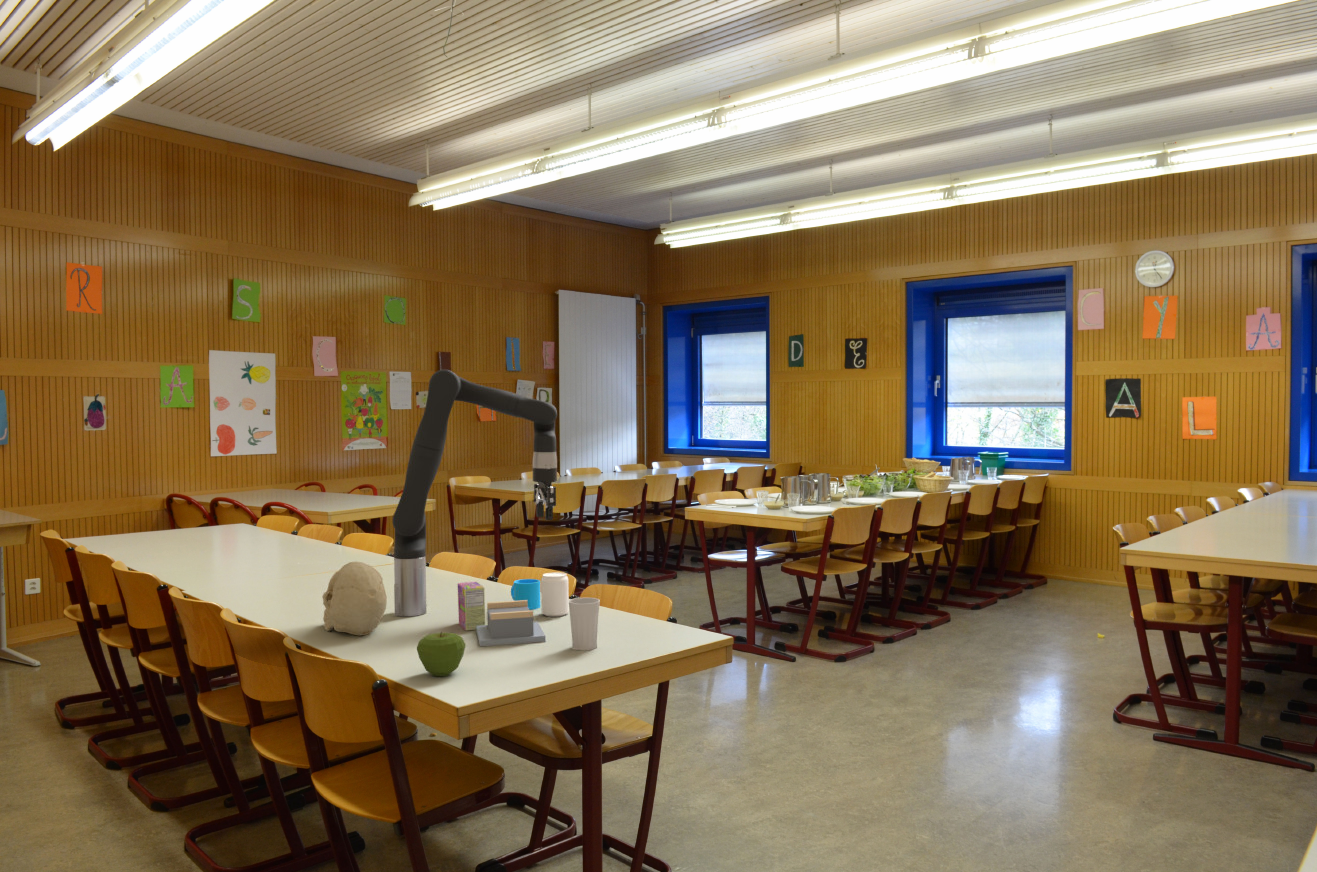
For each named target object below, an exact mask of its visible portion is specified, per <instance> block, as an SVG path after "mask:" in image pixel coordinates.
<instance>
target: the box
mask: <svg viewBox="0 0 1317 872" xmlns="http://www.w3.org/2000/svg"><path fill="white" fill-rule="evenodd" d="M485 600H486V599H485V587H484V586H483V585H482V584H480V583H479V582H477V581H468V582H458V583H457V603H458V604H457V606H458V607H457V608H458V609H457V610H458V624H459V625H460V626H461V627H462V628H463V629H464V630H465V631H466V632H467V631H476V626H480V625H486V606H485V604H486V603H485Z"/></svg>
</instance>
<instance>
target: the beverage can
mask: <svg viewBox="0 0 1317 872" xmlns="http://www.w3.org/2000/svg"><path fill="white" fill-rule="evenodd" d="M567 575H568V574H567V573H566V572H560V571H559V572H557V571H556V572H555V571H554V572H546V573H543V574H542V577H541V580H540V608H541V614H542V615H543V616H546V617H562V616H565V615H567V614H568V613H570V610H569V600H570V598H569V596H570V595H569V577H568V576H567Z"/></svg>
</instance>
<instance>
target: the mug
mask: <svg viewBox="0 0 1317 872" xmlns="http://www.w3.org/2000/svg"><path fill="white" fill-rule="evenodd" d="M510 596H511V599H512V601H520V600H527V601H528V608H529V610H530V611H531V610H533V611H534V610H537V609H540V608H541V580H540V579H536V578H524V579H523V578H521V579H516V580H514V581H513V584H512V586H511V587H510Z"/></svg>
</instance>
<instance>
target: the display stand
mask: <svg viewBox="0 0 1317 872" xmlns="http://www.w3.org/2000/svg"><path fill="white" fill-rule="evenodd" d="M486 609H487V612H486V614H487V619H486V620H487V624H485V625H480V626H476V630H475V631H476V635H477V639H478V644H479V647H491V646H504V645H514V644H515V645H517V644H530V643H531V644H532V643H545V642H546V640H547V639H546V634H545V632H544V631H543V629H542V627H541V625H540V623H539V621H534V610H529V608H528V601H527V600H520V601H514V600H509V601H508V600H506V601H493V602H492V601H491V602H488V601H487V602H486Z"/></svg>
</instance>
